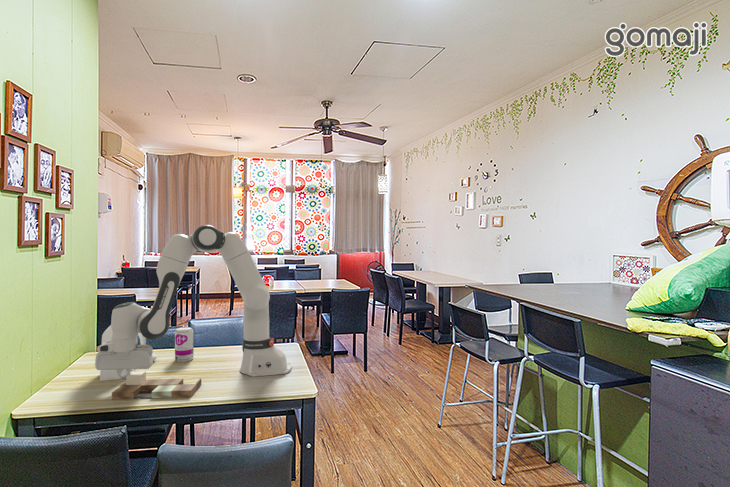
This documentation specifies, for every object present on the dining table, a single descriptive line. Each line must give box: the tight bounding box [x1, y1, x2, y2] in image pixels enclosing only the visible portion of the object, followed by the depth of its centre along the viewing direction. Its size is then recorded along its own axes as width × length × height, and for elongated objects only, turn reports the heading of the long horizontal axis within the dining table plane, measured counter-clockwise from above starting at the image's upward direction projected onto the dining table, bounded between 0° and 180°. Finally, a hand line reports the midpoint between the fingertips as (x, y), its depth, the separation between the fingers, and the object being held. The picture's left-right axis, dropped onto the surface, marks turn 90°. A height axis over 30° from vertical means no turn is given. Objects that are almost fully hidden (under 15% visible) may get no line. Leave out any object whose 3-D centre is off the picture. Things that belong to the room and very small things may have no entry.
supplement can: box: [174, 326, 194, 363], centre depth 202 cm, size 8×8×15 cm
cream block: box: [127, 370, 147, 385], centre depth 163 cm, size 5×5×4 cm
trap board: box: [111, 377, 202, 400], centre depth 161 cm, size 28×13×3 cm, turn 95°
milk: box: [99, 324, 135, 382], centre depth 180 cm, size 12×12×26 cm
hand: (124, 380), depth 163 cm, fingers closed
